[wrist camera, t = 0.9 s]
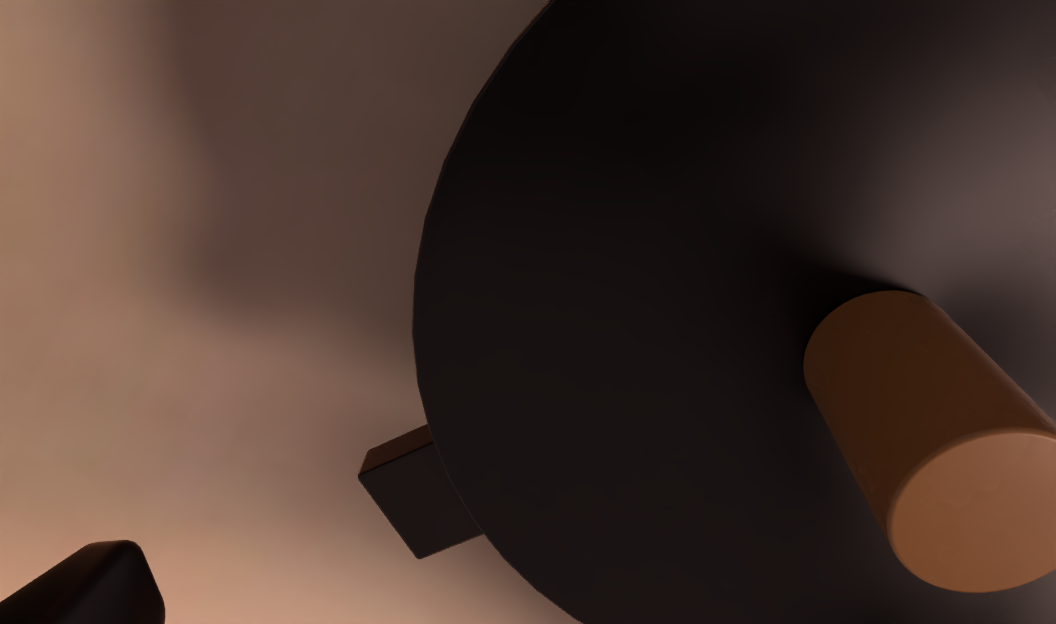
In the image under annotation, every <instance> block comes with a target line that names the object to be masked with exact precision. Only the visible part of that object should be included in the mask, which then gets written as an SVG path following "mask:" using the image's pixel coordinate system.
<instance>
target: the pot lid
mask: <svg viewBox="0 0 1056 624" xmlns="http://www.w3.org/2000/svg"><path fill="white" fill-rule="evenodd" d="M412 337H413V346H414V355H415V365H416V374H417V383H418V388H419V392H420V396H421V400H422V404H423V407H424V411H425V415H426V419H427V423H428V427H429V431H430V434H431V437H432V439H433V441H434V444H435V446H436V449H437V451H438V453H439V456H440V458H441V461H442V463H443V466H444V468H445V470H446V473H447V475H448V478H449V480H450V481H451V483H452V485H453V487H454V488H455V490H456V492H457V493H458V495H459V497H460V498H461V500H462V502H463V503H464V505H465V507H466V509H467V510H468V512H469V514H470V515H471V517H472V519H473V520H474V522H475V523H476V524H477V525H478V527H479V528H480V529H481V531H482V532H483V533H484V534H485V536H486V537H487V538H488V539H489V541H490V542H491V543H492V544H493V546H494V547H495V548H496V550H497V551H498V552H499V553H500V555H501V556H502V557H503V558H504V559H505V560H506V561H507V562H508V563H509V564H510V565H511V566H512V567H513V568H514V569H515V570H516V571H517V572H518V573H519V574H520V575H521V576H522V577H523V578H524V579H525V580H526V581H528V582H529V583H530V584H531V585H532V586H533V587H534V588H535V589H536V590H537V591H538V592H540V593H541V594H542V595H544V596H545V597H546V598H548V599H549V600H550V601H552V602H553V603H554V604H555V605H557V606H558V607H559V608H561V609H562V610H563V611H565V612H566V613H567V614H569V615H570V616H571V617H573V618H574V619H576V620H578V621H579V622H581V623H583V624H1056V0H549V1H548V2H547V4H546V5H545V6H544V7H543V8H542V9H541V10H540V12H539V13H538V14H537V15H536V16H535V17H534V18H533V19H532V21H531V22H530V23H529V24H528V25H527V26H526V27H525V29H524V30H523V31H522V32H521V33H520V34H519V35H518V37H517V38H516V39H515V40H514V41H513V43H512V44H511V46H510V47H509V49H508V50H507V52H506V53H505V55H504V56H503V58H502V59H501V61H500V62H499V64H498V65H497V67H496V68H495V70H494V71H493V73H492V74H491V76H490V77H489V78H488V80H487V81H486V83H485V84H484V86H483V87H482V89H481V90H480V92H479V93H478V95H477V96H476V98H475V99H474V101H473V103H472V105H471V107H470V109H469V111H468V113H467V115H466V117H465V119H464V121H463V123H462V125H461V127H460V129H459V131H458V133H457V135H456V137H455V139H454V141H453V143H452V146H451V148H450V150H449V152H448V154H447V156H446V158H445V160H444V162H443V165H442V168H441V171H440V174H439V177H438V180H437V183H436V186H435V189H434V193H433V196H432V199H431V202H430V205H429V208H428V211H427V214H426V217H425V220H424V225H423V231H422V236H421V242H420V247H419V253H418V258H417V264H416V269H415V275H414V293H413V319H412Z"/></svg>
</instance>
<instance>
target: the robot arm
mask: <svg viewBox="0 0 1056 624" xmlns="http://www.w3.org/2000/svg"><path fill="white" fill-rule="evenodd" d="M0 624H165V606H164V601H163V598H162V596H161V593H160V591H159V589H158V586H157V584H156V581H155V579H154V577H153V574H152V572H151V570H150V567H149V565H148V563H147V560H146V558H145V556H144V553H143V551H142V549H141V548H140V547H139V546H138V545H137V544H136V543H135V542H133V541H129V540H118V541H104V542H95V543H91V544H88V545H86V546H84V547H83V548H81V549H80V550H78V551H77V552H75V553H74V554H72V555H71V556H69V557H68V558H66V559H65V560H63V561H62V562H60V563H59V564H57V565H56V566H54V567H53V568H51V569H50V570H48V571H47V572H45V573H44V574H42V575H41V576H39V577H38V578H36V579H34V580H33V581H31V582H30V583H28V584H27V585H25V586H24V587H22V588H21V589H19V590H18V591H16V592H15V593H13V594H12V595H10V596H9V597H7V598H6V599H4V600H3V601H1V602H0Z"/></svg>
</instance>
